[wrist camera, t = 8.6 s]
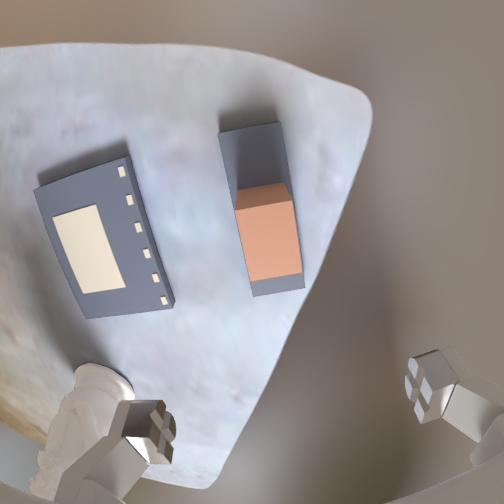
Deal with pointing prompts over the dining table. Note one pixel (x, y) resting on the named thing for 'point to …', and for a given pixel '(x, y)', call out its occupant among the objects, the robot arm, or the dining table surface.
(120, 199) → the grey notebook
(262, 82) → the dining table surface
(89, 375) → the white tall statuette
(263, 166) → the stub
